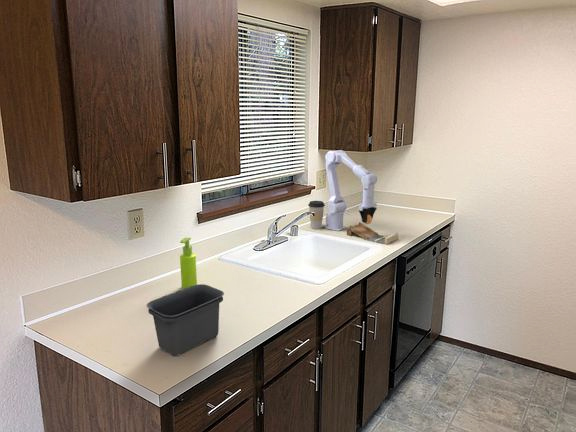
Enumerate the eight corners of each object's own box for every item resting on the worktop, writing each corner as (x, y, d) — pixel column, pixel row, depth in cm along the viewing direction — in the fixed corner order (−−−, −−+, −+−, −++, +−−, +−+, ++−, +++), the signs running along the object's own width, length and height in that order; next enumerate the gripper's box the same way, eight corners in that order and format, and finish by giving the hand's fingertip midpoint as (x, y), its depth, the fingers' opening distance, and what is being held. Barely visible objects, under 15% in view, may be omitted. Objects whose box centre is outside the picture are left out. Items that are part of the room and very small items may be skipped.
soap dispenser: (177, 290, 179) (174, 240, 174) (185, 283, 186) (183, 235, 181) (192, 291, 178) (189, 241, 173) (199, 284, 184) (197, 236, 179)
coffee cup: (316, 224, 273) (316, 199, 269) (327, 228, 266) (328, 202, 262) (304, 227, 267) (304, 201, 264) (315, 230, 260) (316, 204, 257)
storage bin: (172, 364, 129) (169, 317, 126) (141, 345, 139) (137, 301, 135) (230, 336, 145) (228, 293, 141) (198, 321, 154) (196, 280, 151)
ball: (360, 223, 248) (360, 214, 247) (365, 221, 252) (365, 213, 250) (368, 225, 245) (369, 216, 244) (373, 223, 248) (374, 214, 247)
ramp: (346, 236, 253) (347, 225, 251) (356, 232, 260) (356, 221, 258) (368, 241, 244) (369, 229, 242) (378, 237, 251) (378, 225, 249)
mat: (363, 239, 244) (364, 233, 243) (375, 234, 253) (375, 228, 252) (386, 244, 236) (387, 238, 235) (398, 239, 244) (398, 233, 244)
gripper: (367, 199, 237) (366, 225, 240) (382, 195, 247) (380, 220, 251) (355, 197, 241) (354, 223, 245) (370, 193, 252) (369, 217, 255)
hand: (367, 221), depth 248 cm, fingers closed on ball, 5 cm apart
